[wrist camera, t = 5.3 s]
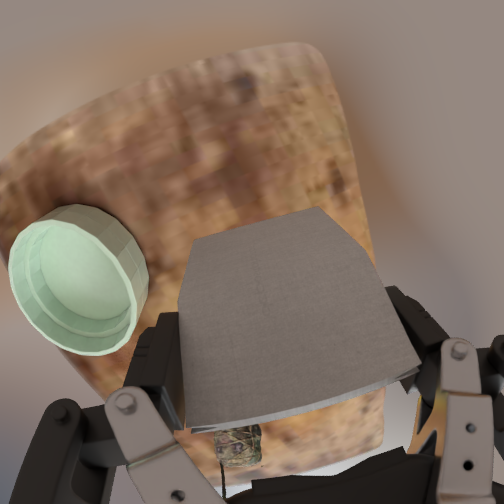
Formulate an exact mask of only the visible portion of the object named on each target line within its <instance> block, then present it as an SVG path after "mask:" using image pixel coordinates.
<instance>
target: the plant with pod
mask: <svg viewBox="0 0 504 504" xmlns="http://www.w3.org/2000/svg"><path fill="white" fill-rule="evenodd" d="M261 436H262V434H261V428H260V426H259V425H258V424H254V425H248V426H243V427H237V428H231V429H225V430H218V431H214V443H215V444H214V446H215V454H216V455H217V460H218V461H219V462H220V466H221V474H222V494H223V496H222V497H223V500H224V501H225V500H226V499H228V498H226V489H225V483H224V482H225V476H224V469H223V465H224V466H225V467H250V466H253V465H255V464H257V463H259V462H261V459H262V454H261V446H260V441H261ZM263 466H264V465H263ZM263 466H261V467H263Z"/></svg>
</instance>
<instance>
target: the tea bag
mask: <svg viewBox="0 0 504 504" xmlns="http://www.w3.org/2000/svg"><path fill="white" fill-rule="evenodd" d="M178 312H179V333H180V347H181V359H182V369H183V383H184V396H185V416H186V428H192V430H191V434H193V433H202V432H210V431H218V430H225V429H231V428H237V427H243V426H248V425H254V424H259V423H264V422H268V421H273V420H278V419H282V418H286V417H290V416H294V415H298V414H302V413H306V412H309V411H313V410H317V409H320V408H323V407H327V406H330V405H333V404H336V403H340V402H343V401H346V400H349V399H352V398H355V397H357V396H360V395H363V394H366V393H369V392H371V391H374V390H376V389H379V388H382V387H384V386H387V385H389V384H391V383H394V382H396V381H399V380H401V379H403V378H406V377H408V376H410V375H413V374H415V373H417V372H419V371H420V370H419V369H418V368H417V367H416V366H418V365H420V364H421V361H420V359H419V357H418V355H417V353H416V352H415V350H414V348H413V346H412V344H411V342H410V340H409V338H408V336H407V334H406V332H405V329H404V327H403V325H402V323H401V321H400V319H399V317H398V315H397V313H396V311H395V309H394V307H393V304H392V302H391V300H390V298H389V296H388V294H387V292H386V290H385V288H384V286H383V284H382V282H381V280H380V278H379V276H378V274H377V272H376V270H375V268H374V266H373V264H372V262H371V260H370V258H369V256H368V254H367V252H366V250H365V249H364V248H363V247H362V246H360V245H359V244H358V243H357V242H356V241H355V240H354V239H353V238H352V237H351V236H350V235H349V234H348V233H347V232H346V231H345V230H344V229H343V228H341V227H340V226H339V225H338V224H337V223H336V222H335V221H334V220H333V219H332V218H331V217H329V216H328V215H327V214H326V213H325V212H324V211H323V210H322V209H321V208H319V207H318V206H317V207H313V208H309V209H306V210H302V211H298V212H294V213H290V214H286V215H283V216H279V217H275V218H271V219H268V220H264V221H260V222H256V223H253V224H249V225H245V226H242V227H238V228H234V229H231V230H227V231H224V232H220V233H217V234H213V235H209V236H206V237H202V238H199V239H195V240H194V242H193V245H192V249H191V252H190V256H189V260H188V263H187V267H186V271H185V274H184V278H183V282H182V286H181V290H180V294H179V298H178Z"/></svg>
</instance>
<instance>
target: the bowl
mask: <svg viewBox="0 0 504 504" xmlns="http://www.w3.org/2000/svg"><path fill="white" fill-rule="evenodd" d="M8 271H9V278H10V283H11V288H12V291H13V294H14V296H15V298H16V301H17V303H18V306H19V307H20V309H21V310H22V312H23V313H24V315H25V316H26V318H27V319H28V320H29V322H30V323H31V324H32V326H33V327H35V328H36V329H37V330H38V331H39V332H40V333H41V334H42V335H43V336H44V337H45V338H46V339H48V340H49V341H51V342H53V343H54V344H56V345H58V346H59V347H61V348H63V349H65V350H68V351H71V352H74V353H77V354H80V355H91V356H101V355H105V354H108V353H112V352H115V351H117V350H118V349H119V348H120V347H122V346H123V345H124V344H125V343H126V342H128V341H129V339H130V337H131V335H132V332H133V330H134V328H135V326H136V324H137V321H138V319H139V316H140V314H141V311H142V309H143V306H144V304H145V301H146V299H147V294H148V283H149V276H148V271H147V267H146V263H145V258H144V256H143V254H142V252H141V250H140V248H139V247H138V245H137V243H136V241H135V239H134V237H133V236H132V235H131V234H130V233H129V232H128V231H127V230H126V229H125V228H124V227H123V226H122V224H121V223H120V222H119V221H118V220H117V219H115V218H114V217H112V216H110V215H108V214H107V213H105V212H103V211H101V210H100V209H98V208H95V207H90V206H85V205H80V204H73V205H67V206H62V207H58V208H56V209H55V210H53V211H51V212H49V213H48V214H46V215H44V216H43V217H41V218H40V219H38V220H36V221H35V222H33V223H32V224H30V225H29V226H28V227H26V228H25V229H24V230H23V231H21V232H20V233H19V234H18V236H17V238H16V240H15V242H14V244H13V246H12V247H11V250H10V257H9V265H8Z"/></svg>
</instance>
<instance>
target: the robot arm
mask: <svg viewBox="0 0 504 504" xmlns="http://www.w3.org/2000/svg"><path fill="white" fill-rule="evenodd" d="M384 288H385V290H386V292H387V294H388V296H389V298H390V300H391V302H392V304H393V307H394V309H395V311H396V313H397V315H398V317H399V319H400V321H401V323H402V325H403V327H404V329H405V332H406V334H407V336H408V338H409V340H410V342H411V344H412V346H413V348H414V350H415V352H416V353H417V355H418V357H419V359H420V361H421V364H420V365H418V366H416V367H417V368H418V369H419V370H420V371H419V372H417V373H415V374H413V375H410V376H408V377H406V378H403V379H401V380H399V381H400V382H401V384H402V386H403V388H404V389H405V391H406V393H407V394H410V393H412V392H415V391H419V392H420V394H421V395H420V397H419V399H418V404H417V412H416V418H415V424H414V430H413V436H412V440H411V444H410V446H409V448H408V451H407V453H405V450H404V448H403V446H401V447H398V448H396V449H393V450H390V451H387V452H384V453H381V454H378V455H375V456H372V457H369V458H367V459H366V460H364V461H362V462H360V463H358V464H356V465H355V466H353V467H351V468H349V469H347V470H345V471H343V472H341V473H339V474H337V475H334V476H301V475H289V476H282V477H275V478H266V479H257V480H251V482H252V489H248V490H245V491H242V492H240V493H238V494H235V495H233V496H232V497H230V498H228V499H226V500H225V501H224V500H223V498H222V497H221V496H220V495H219V494H218V493H217V491H216V490H215V489H214V488H213V487H212V485H211V484H210V483H209V482H208V480H207V479H206V478H205V477H204V475H203V474H202V473H201V471H200V470H199V469H198V468H197V466H196V465H195V464H194V462H193V461H192V460H191V458H190V457H189V456H188V454H187V453H186V451H185V450H184V449H183V447H182V446H181V445H180V443H179V442H177V441H176V439H175V438H174V436H173V434H174V430H184V423H185V396H184V383H183V369H182V359H181V347H180V333H179V312H167V313H160V314H159V317H158V320H157V324H156V327H148V328H147V329H146V330H145V331H144V332H143V333H142V334H141V335H140V336H139V339H138V342H137V345H136V348H135V351H134V354H133V357H132V360H131V363H130V366H129V369H128V372H127V375H126V378H125V381H124V384H123V387H122V388H119V389H117V390H115V391H114V392H112V393H111V394H110V395H109V397H108V398H107V400H106V402H105V404H103V405H100V406H95V407H89V408H84V409H81V408H80V406H79V405H78V404H77V403H76V402H75V401H73V400H71V399H66V398H65V399H59V400H57V401H54V402H53V403H51V404H50V405H49V406H48V407H47V409H46V410H45V412H44V414H43V416H42V419H41V421H40V423H39V425H38V427H37V429H36V432H35V434H34V436H33V439H32V441H31V443H30V446H29V448H28V451H27V453H26V456H25V458H24V461H23V464H22V466H21V469H20V472H19V475H18V477H17V480H16V483H15V486H14V489H13V492H12V495H11V498H10V501H9V504H109V501H110V496H111V491H112V486H113V481H114V477H115V472H116V467H117V466H120V465H126V464H127V465H126V468H127V471H128V474H129V476H130V478H131V480H132V482H133V483H134V485H135V487H136V489H137V491H138V492H139V494H140V496H141V498H142V500H143V501H144V503H145V504H504V485H502V484H499V483H497V482H494V481H492V477H493V457H494V446H495V447H496V449H497V450H498V452H499V454H500V455H501V457H502V459H503V460H504V396H503V395H502V393H501V390H502V389H503V387H504V335H498V336H496V337H495V338H494V340H493V342H492V344H491V346H490V348H479V349H475V347H474V346H473V345H472V344H471V343H470V342H468V341H467V340H465V339H462V338H450V337H449V335H448V334H447V333H446V332H445V331H444V330H443V329H442V328H441V327H440V326H439V324H438V323H437V322H436V321H435V320H434V319H433V318H432V317H431V316H430V314H429V313H428V312H427V311H425V309H424V308H423V307H422V306H421V305H420V303H419V302H417V301H416V300H414V299H412V298H410V297H409V296H405V295H404V294H403V293H402V292H401V291H400V290H399V289H398V288H397V287H396V286H389V287H384Z"/></svg>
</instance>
